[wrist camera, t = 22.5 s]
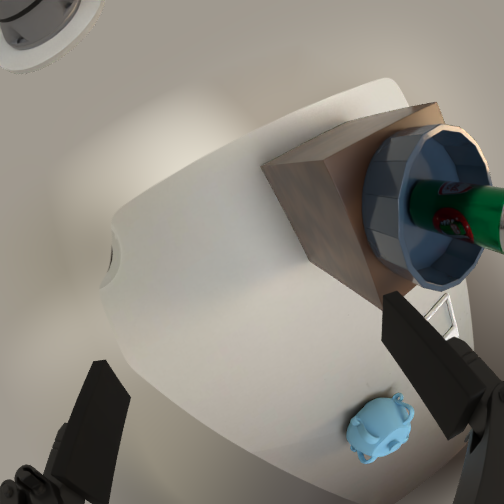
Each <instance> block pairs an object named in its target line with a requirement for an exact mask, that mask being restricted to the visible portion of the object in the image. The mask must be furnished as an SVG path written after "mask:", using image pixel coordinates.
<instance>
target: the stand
mask: <svg viewBox="0 0 504 504" xmlns="http://www.w3.org/2000/svg"><path fill="white" fill-rule="evenodd" d="M433 124H445V122H444V119H443V117H442V114H441V111H440V109H439V106H438V104H437V102H432V103H427V104H422V105H417V106H411V107H406V108H402V109H397V110H392V111H388V112H384V113H379V114H375V115H371V116H367V117H363V118H359V119H355V120H351V121H348V122H346V123H344V124H341V125H339V126H337V127H335V128H333V129H331V130H329V131H327V132H325V133H323V134H321V135H319V136H317V137H315V138H313V139H311V140H309V141H307V142H305V143H304V144H302V145H300V146H298V147H296V148H294V149H292V150H290V151H288V152H286V153H285V154H283V155H281V156H279V157H277V158H275V159H273V160H272V161H270V162H268V163H266V164H264V165H262V166H261V169H262V170H263V172H264V174H265V176H266V178H267V180H268V181H269V183H270V185H271V187H272V189H273V191H274V193H275V194H276V196H277V198H278V200H279V202H280V204H281V206H282V208H283V210H284V212H285V213H286V215H287V217H288V219H289V221H290V223H291V225H292V227H293V229H294V231H295V233H296V235H297V237H298V239H299V241H300V243H301V245H302V247H303V249H304V250H305V252H306V254H307V256H308V258H309V261H310V262H312V263H313V264H315V265H316V266H318V267H319V268H321V269H322V270H324V271H325V272H327V273H328V274H330V275H331V276H333V277H334V278H336V279H337V280H338V281H340V282H341V283H343V284H344V285H346V286H347V287H349V288H350V289H352V290H353V291H355V292H356V293H357V294H359V295H360V296H362V297H363V298H365V299H366V300H368V301H369V302H370V303H372V304H373V305H375V306H376V307H378V308H379V309H381V310H382V311H383V295H385V294H388V293H391V292H394V291H398V292H399V293H400V294H401V295H402V296H404V295H406V294H407V293H408V292H409V291H410V290H412V289H413V288H414V287H415V286H416V285H417V284H415V283H413V282H411V281H409V280H407V279H405V278H403V277H401V276H399V275H397V274H395V273H393V272H392V271H391V270H390V269H389V268H387V267H386V266H385V265H383V264H382V263H381V262H380V261H379V259H378V258H377V257H376V255H375V254H374V252H373V251H372V249H371V247H370V244H369V242H368V240H367V236H366V233H365V230H364V225H363V218H362V191H363V184H364V179H365V175H366V172H367V169H368V166H369V164H370V161H371V159H372V157H373V155H374V154H375V152H376V150H377V149H378V148H379V146H380V145H381V144H382V143H383V142H384V141H385V140H386V139H387V138H388V137H389V136H391V135H392V134H394V133H395V132H398V131H400V130H404V129H406V128H408V127H415V126H424V125H433Z"/></svg>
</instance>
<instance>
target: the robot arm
mask: <svg viewBox="0 0 504 504" xmlns="http://www.w3.org/2000/svg"><path fill="white" fill-rule="evenodd" d="M80 3H81V0H0V27H1V30H2V33H3V36H4V39H5V40H6V42H7V43H8V44H9V45H10V46H12V47H13V48H15V49H18V50H28V49H32V48H35V47H37V46H40V45H42V44H44V43H45V42H47V41H49V40H50V39H52V38H53V37H54V36H56V35H57V34H58V33H59V32H60V31H61V30H63V29H64V28H65V27H66V26H67V24H68V23H69V22H70V21H71V20H72V18H73V17H74V15H75V14H76V12H77V10H78V8H79V6H80ZM381 341H382V342H383V344H384V345H385V346H386V348H387V349H388V351H389V352H390V353H391V355H392V356H393V358H394V359H395V361H396V362H397V363H398V365H399V366H400V368H401V369H402V371H403V372H404V374H405V375H406V377H407V378H408V379H409V381H410V382H411V384H412V385H413V387H414V388H415V390H416V391H417V393H418V394H419V396H420V397H421V399H422V400H423V402H424V403H425V405H426V406H427V408H428V410H429V411H430V413H431V414H432V416H433V417H434V419H435V420H436V422H437V424H438V425H439V427H440V428H441V430H442V431H443V433H444V435H445V436H446V438H447V440H450V439H451V438H453V437H455V436H456V435H458V434H460V433H461V432H463V431H464V429H465V428H466V426H467V424H468V423H469V425H470V426H471V427H472V429H471V430H470V432H469V433H468V435H467V436H466V438H465V441H464V442H467V441H468V439H469V442H468V447H467V452H466V457H465V461H464V466H463V470H462V474H461V478H460V481H459V485H458V488H457V492H456V495H455V498H454V501H453V504H504V381H501V380H500V379H499V378H498V377H497V376H496V375H495V373H494V372H493V371H492V370H491V369H490V368H489V367H488V366H487V365H486V364H485V362H484V361H483V360H482V359H481V358H480V357H478V355H477V354H476V353H475V352H474V351H472V349H471V348H470V347H469V345H468V344H467V343H466V342H465V341H463V340H461V339H459V338H457V337H455V336H454V337H452V338H450V339H448V340H445V339H444V338H443V337H442V336H441V335H440V334H439V333H438V332H437V330H436V329H435V328H434V327H433V326H432V325H431V324H430V323H429V322H428V321H427V320H426V319H425V318H424V317H423V316H422V315H421V314H420V313H419V312H418V311H417V310H416V309H415V308H414V307H413V306H412V305H411V304H410V303H409V302H408V301H407V300H406V299H405V298H404V297H403V296H402V295H401V294H400V293H399V292H398V291H394V292H391V293H388V294H385V295H383V315H382V339H381ZM130 399H131V397H130V395H129V394H128V393H127V391H126V390H125V388H124V387H123V385H122V384H121V383H120V381H119V379H118V378H117V377H116V375H115V373H114V372H113V370H112V369H111V367H110V366H109V364H108V363H107V361H106V360H100V361H93V364H92V366H91V368H90V370H89V372H88V375H87V377H86V379H85V381H84V384H83V386H82V389H81V391H80V394H79V396H78V398H77V401H76V403H75V406H74V408H73V411H72V413H71V416H70V419H69V421H68V423H64V424H63V426H62V427H61V428H60V429H59V431H58V433H57V436H56V438H55V442H54V444H53V447H52V448H53V449H52V450H51V452H50V455H49V458H48V461H47V464H46V467H45V470H44V474H43V475H42V474H41V473H40V472H38V471H37V470H36V469H35V468H34V467H32V466H31V465H23V466H21V467H20V468H19V469H18V470H17V472H16V474H15V482H14V481H12V480H5V481H4V482H3V483H2V484H1V486H0V504H84V503H85V499H86V500H87V501H89V502H90V503H92V504H109V499H110V492H111V487H112V481H113V476H114V470H115V465H116V460H117V455H118V451H119V446H120V441H121V436H122V432H123V428H124V423H125V419H126V415H127V411H128V407H129V403H130Z"/></svg>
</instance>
